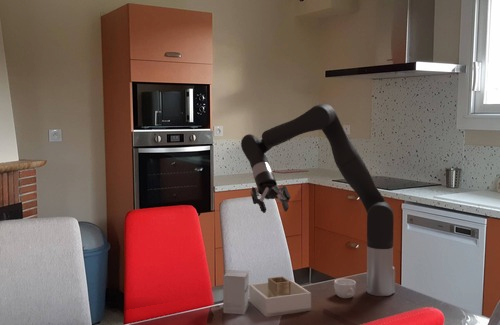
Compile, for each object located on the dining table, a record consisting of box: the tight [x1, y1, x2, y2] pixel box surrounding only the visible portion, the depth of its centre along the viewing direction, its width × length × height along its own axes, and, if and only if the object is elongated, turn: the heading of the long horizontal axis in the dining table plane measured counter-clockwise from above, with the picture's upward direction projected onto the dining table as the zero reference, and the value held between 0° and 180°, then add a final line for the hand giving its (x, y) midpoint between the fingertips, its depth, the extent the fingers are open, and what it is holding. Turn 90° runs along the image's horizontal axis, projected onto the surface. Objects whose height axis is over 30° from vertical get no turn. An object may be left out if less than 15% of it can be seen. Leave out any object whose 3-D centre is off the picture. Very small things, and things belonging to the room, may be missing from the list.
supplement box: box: [222, 269, 250, 315], centre depth 168 cm, size 7×7×13 cm
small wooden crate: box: [267, 276, 291, 298], centre depth 172 cm, size 6×6×8 cm
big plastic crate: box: [249, 279, 312, 318], centre depth 172 cm, size 16×16×6 cm
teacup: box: [333, 278, 357, 299], centre depth 180 cm, size 10×8×5 cm
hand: (275, 210), depth 183 cm, fingers open, 8 cm apart
